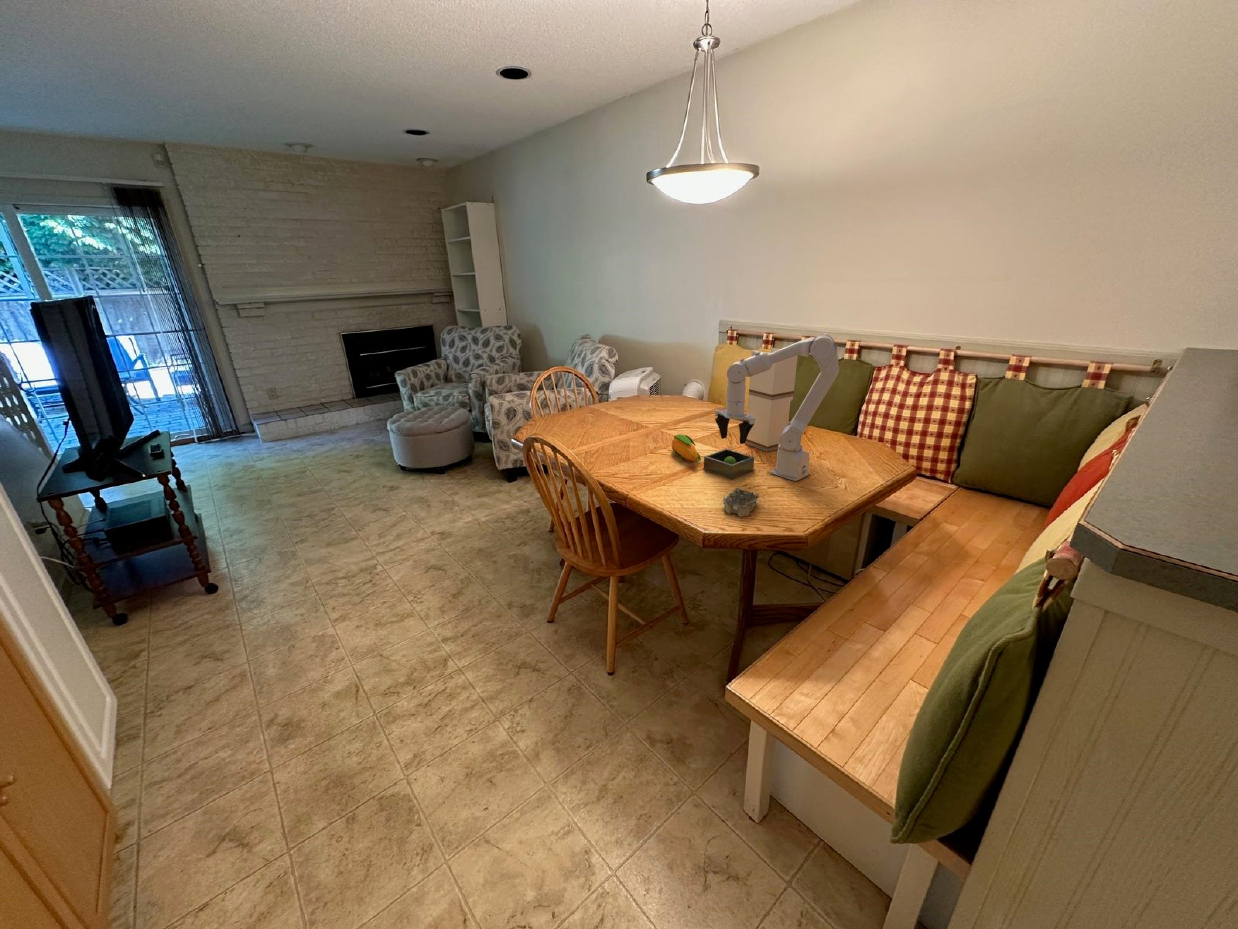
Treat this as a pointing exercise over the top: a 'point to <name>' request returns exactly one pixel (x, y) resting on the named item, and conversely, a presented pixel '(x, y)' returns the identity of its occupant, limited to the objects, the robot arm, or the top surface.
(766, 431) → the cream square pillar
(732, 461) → the pea
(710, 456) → the dark grey open box
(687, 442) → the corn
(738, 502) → the gray rock
